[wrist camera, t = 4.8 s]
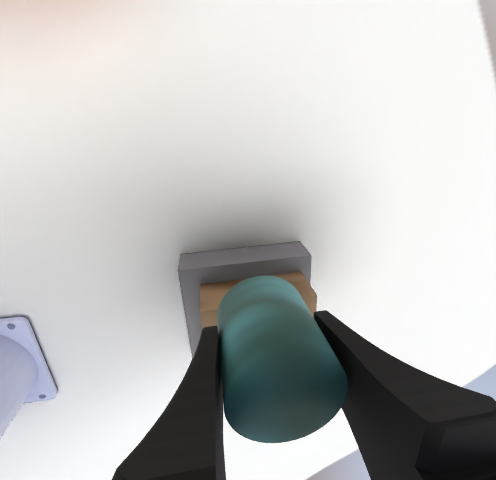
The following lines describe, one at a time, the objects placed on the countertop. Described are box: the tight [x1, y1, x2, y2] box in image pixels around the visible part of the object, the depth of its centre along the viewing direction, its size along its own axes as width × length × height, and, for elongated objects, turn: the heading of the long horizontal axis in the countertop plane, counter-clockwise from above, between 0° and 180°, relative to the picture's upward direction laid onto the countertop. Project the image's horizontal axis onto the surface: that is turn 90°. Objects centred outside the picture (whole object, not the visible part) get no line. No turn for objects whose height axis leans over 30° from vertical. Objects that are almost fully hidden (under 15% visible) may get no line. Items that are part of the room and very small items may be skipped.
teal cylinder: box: [217, 275, 348, 443], centre depth 12 cm, size 4×4×5 cm
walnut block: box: [200, 271, 317, 328], centre depth 20 cm, size 7×7×3 cm
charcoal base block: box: [178, 241, 311, 359], centre depth 22 cm, size 9×9×3 cm
